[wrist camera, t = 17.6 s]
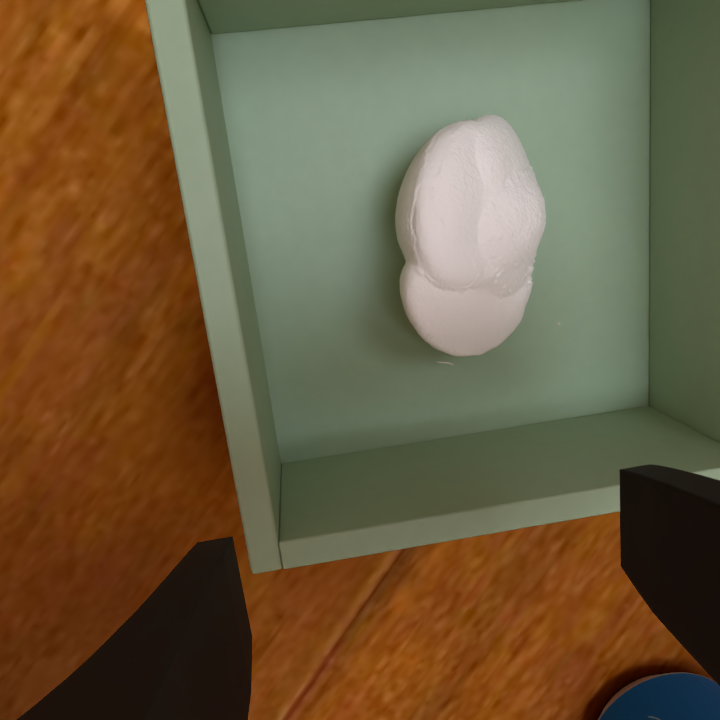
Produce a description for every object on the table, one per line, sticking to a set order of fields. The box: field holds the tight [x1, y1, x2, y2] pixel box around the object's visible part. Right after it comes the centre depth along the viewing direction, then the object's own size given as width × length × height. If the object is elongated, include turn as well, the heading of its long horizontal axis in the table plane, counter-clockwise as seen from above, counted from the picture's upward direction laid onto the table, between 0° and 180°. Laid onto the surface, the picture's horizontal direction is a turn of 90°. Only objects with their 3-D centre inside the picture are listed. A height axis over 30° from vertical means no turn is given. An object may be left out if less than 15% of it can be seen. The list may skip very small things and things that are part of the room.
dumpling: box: [395, 115, 560, 365], centre depth 17 cm, size 7×5×4 cm
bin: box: [145, 0, 720, 574], centre depth 16 cm, size 15×15×6 cm
